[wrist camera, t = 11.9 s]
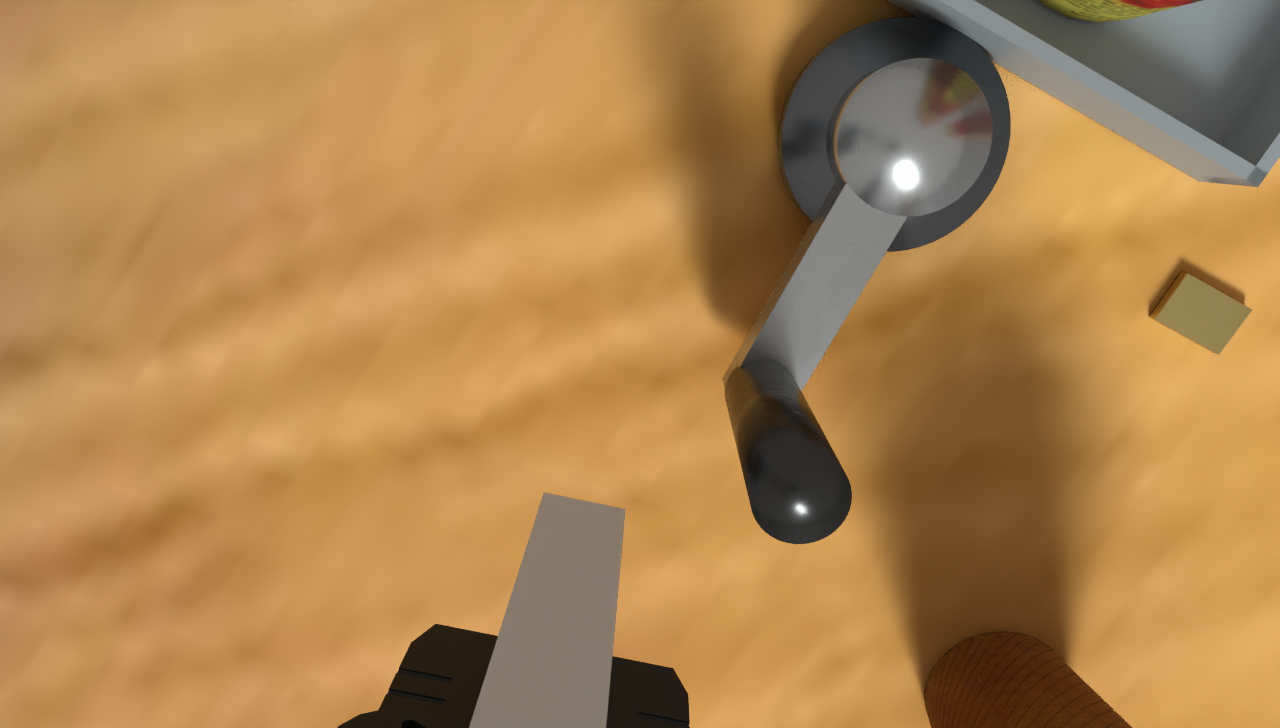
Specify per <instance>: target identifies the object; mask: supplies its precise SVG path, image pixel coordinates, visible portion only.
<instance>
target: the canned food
mask: <svg viewBox="0 0 1280 728" xmlns="http://www.w3.org/2000/svg"><path fill="white" fill-rule="evenodd" d="M1036 1H1037V2H1038V3H1039V4H1040V5H1041V6H1043V7H1045V8H1047V9H1049V10H1051V11H1053V12H1055V13H1057V14H1059V15H1061V16H1063V17H1065V18H1068V19H1074V20H1080V21H1085V22H1091V23H1103V22H1112V21H1122V20H1128V19H1132V18H1136V17H1140V16H1144V15H1148V14H1152V13H1156V12H1159V11H1163V10H1167V9H1171V8H1175V7H1179V6H1183V5H1187V4H1191V3H1195V2H1199V1H1202V0H1036Z"/></svg>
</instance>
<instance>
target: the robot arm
mask: <svg viewBox="0 0 1280 728" xmlns="http://www.w3.org/2000/svg"><path fill="white" fill-rule="evenodd" d="M624 519H625V509H622V508H618V507H613V506H608V505H603V504H598V503H593V502H588V501H583V500H578V499H574V498H569V497H564V496H559V495H554V494H549V493H544V494H543V497H542V500H541V503H540V506H539V509H538V513H537V516H536V519H535V522H534V525H533V528H532V531H531V535H530V538H529V541H528V544H527V547H526V550H525V553H524V557H523V560H522V563H521V566H520V569H519V572H518V575H517V578H516V582H515V585H514V588H513V591H512V594H511V597H510V600H509V604H508V607H507V610H506V613H505V616H504V619H503V622H502V626H501V629H500V632H499V635H498V636H495V635H490V634H485V633H480V632H475V631H469V630H464V629H459V628H454V627H449V626H444V625H439V624H435V625H434V626H432V627H431V628H430V629H428V630H427V631H426V632H424V633H423V634H422V635H421V636H419V637H418V638H417V639H415V640H414V641H413V642H411V644H410V646H409V648H408V650H407V652H406V655H405V657H404V659H403V661H402V663H401V665H400V667H399V671H398V673H396V675H395V677H394V679H393V681H392V683H391V686H390V688H389V691H388V694H386V696H385V698H384V700H383V702H382V704H381V706H380V708H379V710H378V711H373V712H369V713H364V714H360V715H358V716H356V717H354V718H352V719H351V720H349V721H347V722H345V723H343V724H342V725H340V726H338V728H690V727H689V703H688V693H687V692H686V690H685V688H684V686H683V685H682V683H681V681H680V680H679V678H678V676H677V674H676V673H675V671H674V669H673V668H669V667H664V666H659V665H654V664H649V663H644V662H639V661H634V660H628V659H623V658H618V657H613V656H612V655H613V643H614V632H615V621H616V610H617V598H618V587H619V576H620V564H621V553H622V542H623V531H624Z"/></svg>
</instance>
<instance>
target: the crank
mask: <svg viewBox="0 0 1280 728" xmlns="http://www.w3.org/2000/svg"><path fill="white" fill-rule="evenodd" d="M992 132H993V125H992V117H991V112H990V108H989V105H988V103H987V100H986V98H985V96H984V94H983V92H982V91H981V89H980V87H979V86H978V85H977V84H976V82H975V81H974V80H973V79H972V78H971V77H970V76H969V75H968V74H967V73H965V72H964V71H963V70H961V69H960V68H958V67H956V66H954V65H952V64H950V63H948V62H944V61H941V60H937V59H931V58H914V59H907V60H903V61H899V62H896V63H892V64H889V65H886V66H882V67H880V68H877V69H875V70H872V71H870V72H869V73H867V74H865V75H863V76H862V77H861V78H859V79H858V80H857V81H855V82H854V83H853V84H852V85H851V86H850V87H849V88H848V89H847V90H846V92H845V93H844V94H843V95H842V96H841V98H840V100H839V101H838V103H837V104H836V106H835V108H834V110H833V112H832V115H831V118H830V121H829V125H828V129H827V137H826V151H827V157H828V162H829V165H830V168H831V171H832V173H833V175H834V177H835V179H836V182H835V184H834V186H833V187H832V189H831V191H830V192H829V194H828V196H827V198H826V199H825V201H824V203H823V205H822V206H821V208H820V210H819V212H818V213H817V215H816V217H815V219H814V220H813V222H812V224H811V225H810V227H809V229H808V231H807V232H806V234H805V236H804V238H803V239H802V241H801V243H800V245H799V246H798V248H797V250H796V252H795V253H794V255H793V257H792V258H791V260H790V262H789V264H788V265H787V267H786V269H785V271H784V272H783V274H782V276H781V278H780V279H779V281H778V283H777V284H776V286H775V288H774V290H773V291H772V293H771V295H770V297H769V298H768V300H767V302H766V304H765V305H764V307H763V309H762V311H761V312H760V314H759V316H758V317H757V319H756V321H755V323H754V324H753V326H752V328H751V330H750V331H749V333H748V335H747V337H746V338H745V340H744V342H743V344H742V345H741V347H740V349H739V350H738V352H737V354H736V356H735V357H734V359H733V361H732V363H731V364H730V366H729V368H728V370H727V371H726V373H725V375H724V377H723V378H722V379H723V383H724V387H725V399H726V404H727V408H728V412H729V416H730V420H731V425H732V429H733V433H734V437H735V442H736V446H737V450H738V454H739V458H740V463H741V467H742V471H743V475H744V479H745V484H746V488H747V492H748V496H749V500H750V505H751V509H752V513H753V515H754V518H755V519H756V521H757V523H758V524H759V526H760V527H761V528H762V529H763V530H764V531H765V532H766V533H768V534H769V535H770V536H772V537H774V538H775V539H778V540H780V541H783V542H787V543H792V544H806V543H811V542H815V541H818V540H821V539H823V538H825V537H827V536H828V535H830V534H832V533H833V532H834V531H835V530H836V529H837V528H838V527H839V526H840V525H841V524H842V523H843V521H844V520H845V518H846V516H847V515H848V512H849V510H850V506H851V500H852V491H851V486H850V483H849V480H848V478H847V476H846V474H845V472H844V470H843V468H842V466H841V464H840V463H839V461H838V459H837V457H836V455H835V453H834V451H833V450H832V448H831V446H830V444H829V442H828V440H827V438H826V437H825V435H824V433H823V431H822V429H821V427H820V425H819V424H818V422H817V420H816V418H815V416H814V414H813V412H812V410H811V409H810V407H809V405H808V403H807V401H806V399H805V397H804V396H803V394H802V392H801V391H802V389H803V388H804V386H805V384H806V383H807V381H808V380H809V378H810V376H811V375H812V373H813V371H814V370H815V368H816V366H817V365H818V363H819V361H820V360H821V358H822V356H823V355H824V353H825V352H826V350H827V348H828V347H829V345H830V343H831V342H832V340H833V338H834V337H835V335H836V333H837V332H838V330H839V329H840V327H841V325H842V324H843V322H844V320H845V319H846V317H847V315H848V314H849V312H850V310H851V309H852V307H853V305H854V304H855V302H856V301H857V299H858V297H859V296H860V294H861V292H862V291H863V289H864V287H865V286H866V284H867V282H868V281H869V279H870V278H871V276H872V274H873V273H874V271H875V269H876V268H877V266H878V264H879V263H880V261H881V259H882V258H883V256H884V254H885V253H886V251H887V250H888V248H889V246H890V245H891V243H892V241H893V240H894V238H895V236H896V235H897V233H898V231H899V230H900V228H901V227H902V225H903V223H904V222H905V220H906V218H907V217H908V216H911V217H912V216H921V215H925V214H930V213H933V212H935V211H938V210H941V209H943V208H945V207H946V206H948V205H950V204H952V203H953V202H955V201H956V200H957V199H959V198H960V197H961V196H962V195H963V194H965V193H966V192H967V191H968V189H969V188H970V187H971V186H972V185H973V184H974V182H975V181H976V180H977V178H978V177H979V175H980V174H981V172H982V170H983V168H984V166H985V164H986V161H987V159H988V156H989V152H990V148H991V143H992Z"/></svg>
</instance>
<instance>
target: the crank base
mask: <svg viewBox="0 0 1280 728" xmlns="http://www.w3.org/2000/svg"><path fill="white" fill-rule="evenodd" d="M914 58H931V59H937V60H941V61H944V62H948V63H950V64H952V65H954V66H956V67H958V68H960V69H961V70H963V71H964V72H965V73H967V74H968V75H969V76H970V77H971V78H972V79H973V80H974V81H975V82H976V84H977V85H978V86H979V87H980V89H981V91H982V92H983V94H984V96H985V98H986V100H987V103H988V105H989V108H990V112H991V117H992V125H993V132H992V143H991V148H990V152H989V156H988V159H987V161H986V164H985V166H984V168H983V170H982V172H981V174H980V175H979V177H978V178H977V180H976V181H975V182H974V184H973V185H972V186H971V187H970V188H969V189H968V191H967V192H966V193H965V194H963V195H962V196H961V197H960V198H959V199H957V200H956V201H955V202H953V203H952V204H950V205H948V206H946V207H945V208H943V209H941V210H938V211H935V212H933V213H930V214H925V215H921V216H912V217H911V216H908V217H907V218H906V220H905V222H904V223H903V225H902V227H901V228H900V230H899V231H898V233H897V235H896V236H895V238H894V240H893V241H892V243H891V245H890V246H889V248H888V250H887V251H889V252H892V251H901V250H908V249H912V248H916V247H920V246H923V245H926V244H928V243H931V242H934V241H936V240H938V239H940V238H942V237H944V236H945V235H947V234H949V233H950V232H952V231H953V230H955V229H956V228H958V227H959V226H960V225H962V224H963V223H964V222H965V221H966V220H967V219H969V218H970V217H971V216H972V215H973V214H974V213H975V211H976V210H977V209H978V208H979V207H980V206H981V205H982V204H983V202H984V201H985V199H986V198H987V197H988V195H989V194H990V192H991V191H992V189H993V187H994V185H995V183H996V182H997V180H998V178H999V175H1000V173H1001V170H1002V168H1003V165H1004V163H1005V159H1006V155H1007V151H1008V146H1009V139H1010V110H1009V102H1008V98H1007V94H1006V91H1005V87H1004V85H1003V82H1002V80H1001V78H1000V75H999V73H998V71H997V70H996V68H995V66H994V65H993V63H992V61H991V60H990V59H989V58H988V56H987V55H986V54H985V53H984V51H983V50H982V49H981V48H980V47H979V46H978V45H977V44H976V43H975V42H973V41H972V40H971V39H970V38H968V37H967V36H965V35H964V34H963V33H961V32H960V31H958V30H956V29H954V28H952V27H950V26H948V25H946V24H943V23H939V22H936V21H933V20H929V19H923V18H917V17H897V18H888V19H883V20H879V21H875V22H871V23H868V24H866V25H863V26H861V27H858V28H856V29H854V30H852V31H850V32H848V33H846V34H845V35H843V36H841V37H839V38H837V39H836V40H834V41H833V42H831V43H830V44H829V45H827V46H826V47H825V48H823V49H822V50H821V51H820V52H819V53H818V54H817V55H816V56H815V57H813V58H812V59H811V60H810V62H809V63H808V64H807V65H806V66H805V68H804V69H803V70H802V71H801V73H800V74H799V76H798V77H797V79H796V81H795V82H794V84H793V85H792V88H791V90H790V92H789V94H788V96H787V98H786V101H785V104H784V107H783V110H782V113H781V118H780V123H779V128H778V142H777V144H778V159H779V164H780V169H781V173H782V176H783V179H784V182H785V185H786V187H787V189H788V191H789V193H790V195H791V197H792V199H793V200H794V202H795V203H796V205H797V206H798V208H799V209H800V210H801V212H802V213H803V214H804V215H805V216H806V217H807V218H808V219H809V220H810V221H811V222H813V220H814V219H815V217H816V215H817V213H818V212H819V210H820V208H821V206H822V205H823V203H824V201H825V199H826V198H827V196H828V194H829V192H830V191H831V189H832V187H833V186H834V184H835V182H836V179H835V177H834V175H833V173H832V171H831V168H830V165H829V162H828V157H827V151H826V137H827V129H828V125H829V121H830V118H831V115H832V112H833V110H834V108H835V106H836V104H837V103H838V101H839V100H840V98H841V96H842V95H843V94H844V93H845V92H846V90H847V89H848V88H849V87H850V86H851V85H852V84H853V83H854V82H855V81H857V80H858V79H859V78H861V77H862V76H863V75H865V74H867V73H869V72H870V71H872V70H875V69H877V68H880V67H882V66H886V65H889V64H892V63H896V62H899V61H903V60H907V59H914Z"/></svg>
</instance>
